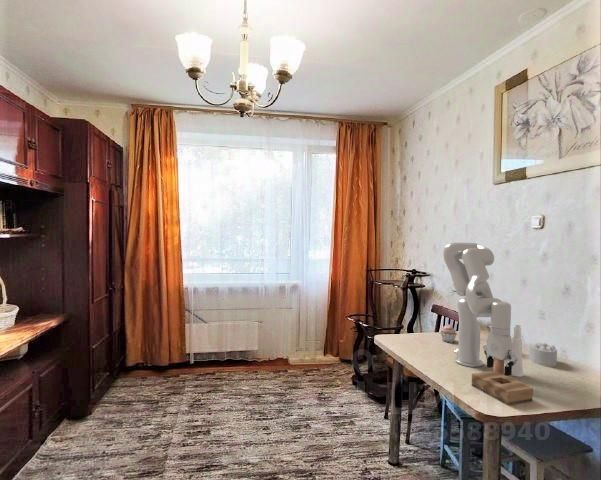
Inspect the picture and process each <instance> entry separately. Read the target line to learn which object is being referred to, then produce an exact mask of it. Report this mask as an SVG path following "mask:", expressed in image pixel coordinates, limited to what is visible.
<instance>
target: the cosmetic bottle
mask: <svg viewBox="0 0 601 480" xmlns="http://www.w3.org/2000/svg"><path fill="white" fill-rule="evenodd" d="M521 326H522V325H519V324H515V325H514V327H513V337H512V339H511V340H512V353H513V354H514V355H515V356H516V357H517V359H518V360H517V361H516V363H515V364H514V365H513V366H512V374H511V375H510V376H513V377H519V378H520V377H524V376H525V373H524V366H523V365H524V364H523V340H522V328H521ZM511 361H512V359H511Z"/></svg>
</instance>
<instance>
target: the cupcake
mask: <svg viewBox="0 0 601 480" xmlns="http://www.w3.org/2000/svg"><path fill="white" fill-rule="evenodd" d="M439 333H440V336H441V340H442V341H443V342H444V343H454V342H455V340H456V337H457V335H458V333H457V332H456V329H455V328H454V327H453V326H452V324H449V323H447V324H446V325H444V326H443V327H442V328H441V329H440V331H439Z"/></svg>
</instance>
